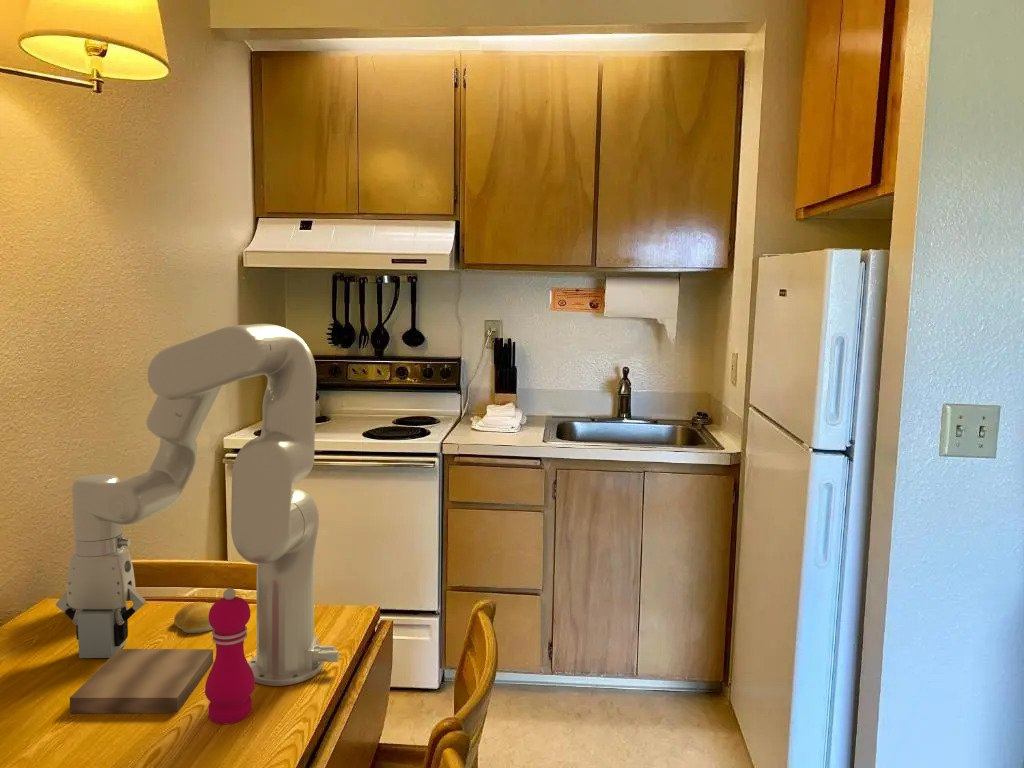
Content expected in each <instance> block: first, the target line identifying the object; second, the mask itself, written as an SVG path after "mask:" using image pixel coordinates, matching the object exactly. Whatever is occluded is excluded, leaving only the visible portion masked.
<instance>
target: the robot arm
mask: <svg viewBox="0 0 1024 768" xmlns="http://www.w3.org/2000/svg"><path fill="white" fill-rule="evenodd" d="M146 375H147V376H146V377H147V382H148V386H149V387H150V389H151V390H152V392H153V393H154V394H155V395H156V396H157V397H156V399H155V401H154V402H153V405H152V407H151V409H150V411H149V413H148V415H147V417H146V421H145V422H146V423H145V424H146V426H147V427H146V428H147V429H148V430H149V431H150V432H151V433H152V434H153V435H154V436H155V437H157V438H159V439H160V440H159V441H160V443H159V446H158V450H157V452H156V455H155V457H154V459H153V461H152V463H151V464H150V467H149V469H148V470H147V472H144V473H141V474H139V475H135V476H133V477H129V478H127V479H124V480H120V478H119V477H118V476H117V475H114V474H109V473H100V474H99V473H96V474H88V475H84V476H81V477H79V478H76V479H75V480H74V482H73V484H72V487H71V495H72V496H71V497H72V517H73V521H72V522H73V544H74V551H73V553H72V554H71V556H70V561H69V565H68V571H67V580H66V581H67V583H66V584H67V585H66V591H65V593H63V594H62V596H61V597H59V599H58V600H57V601H56V603H55V606H56V607H57V608H58V609H59V610H61V612H64V614H65V616H67V617H68V618H69V619H71V621H72V624H73V625H74V626H75V629H76V630H75V631H76V640H77V641H78V618H77V614H78V613H80V612H81V611H84V610H112V611H114V617H115V620H116V625H115V626H114V643H115V646H120V645H121V644H122V643H123V642H124V641H125V640H126V641H127V638H128V636H129V622H128V621H129V619H130V618H131V617H132V616H133V615H134V614H135V613H136V612H138V610H140V609H141V608H142V607H144V605H145V604H146V603H147V601H146V599H145V598H144V597H143V596H142V595H141V594H140V593H139V592H138V591H137V590H136V579H135V571H134V567H133V565H134V564H133V561H132V557H131V555H130V551H129V549H128V548H125V547H130V546H131V542H132V540H131V538H126V537H125V533H123V532H124V531H123V530H124V529H123V525H124V526H126V525H127V526H128V525H134V524H137V523H140V522H141V521H144V520H146V519H149V518H150V517H152V516H153V515H156V514H159V513H161V512H163V511H165V510H167V509H169V508H170V507H172V506H173V505H174V504H175V503H176V502H177V501H178V500H179V498H180V496H182V493H183V492H184V490H185V488H186V486H187V484H188V483H189V480H190V477H192V474H193V472H194V469H195V466H196V463H197V455H198V444H197V438H198V435H199V433H200V432H201V429H202V428H203V426H204V423H205V421H206V419H207V416H208V414H209V412H210V411H211V409H212V407H213V404H214V403H215V401H216V399H217V397H218V395H219V393H220V391H221V389H222V387H223V386H224V385H229V384H232V383H235V382H237V381H240V380H245V379H249V378H254V377H260V376H263V375H264V376H266V378H267V384H266V388H265V391H264V395H263V399H262V423H261V432H260V436H259V435H258V436H256V437H254V438H253V439H250V440H249V441H247V442H246V443H245V444H244V445H243V446H242V447H241V448H240V450H239V451H238V453H237V455H236V458H235V459H234V463H233V467H232V472H231V473H232V474H231V499H230V500H231V501H230V502H231V506H230V507H231V509H230V534H231V539H232V543H233V546H234V548H235V549H236V552H237V553H238V554H239V555H240V557H241V558H243V559H244V560H245V561H247V562H249V563H250V564H255V565H256V590H255V591H256V596H255V597H256V655H255V656H253V657H252V658H251V660H250V661H249V662H248V664H249V665H250V667H251V669H252V671H253V674H254V679H255V683H257V684H260V685H263V686H273V687H280V686H281V687H283V686H289V685H295V684H299V683H302V682H305V681H307V680H309V679H311V678H313V677H314V676H316V675H318V673H320V671H321V670H322V668H323V666H324V665H323V664H324V663H326V662H327V663H338V662H339V659H340V652H339V650H335V645H322V644H321V643H319V636H315V572H316V570H315V564H316V561H315V560H316V547H317V540H318V534H319V533H318V532H319V524H320V519H319V518H320V517H319V516H320V515H319V510H318V507H317V504H316V502H315V500H314V499H313V498H312V496H311V495H310V494H309V493H307V492H306V491H304V490H302V489H298V488H294V487H293V488H292V486H294V485H296V484H297V483H299V482H300V481H302V480H304V479H305V478H306V477H308V475H309V474H310V472H311V471H312V469H313V466H314V463H315V445H316V444H315V440H316V439H315V438H316V396H317V395H316V394H317V368H316V363H315V358H314V355H313V353H312V351H311V349H310V348H309V346H308V344H307V343H306V342H305V341H304V339H303V338H301V337H300V335H297V334H296V333H295V332H294V331H292V330H290V329H288V328H286V327H283V326H280V325H277V324H273V323H252V324H236V325H229V326H226V327H222V328H219V329H216V330H214V331H211V332H207V333H205V334H202V335H200V336H197V337H194V338H191V339H188V340H185V341H183V342H179V343H176V344H175V345H174V344H173V345H171V346H169V347H166V348H163V349H162V350H161V351H159V352H157V354H156V355H155V356H154V357H153V358H152V359H151V360H150V363H149V365H148V368H147V374H146ZM129 601H130V602H132V605H131V606H130V607H129V608H128V604H127V602H129ZM78 647H79V643H78Z"/></svg>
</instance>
